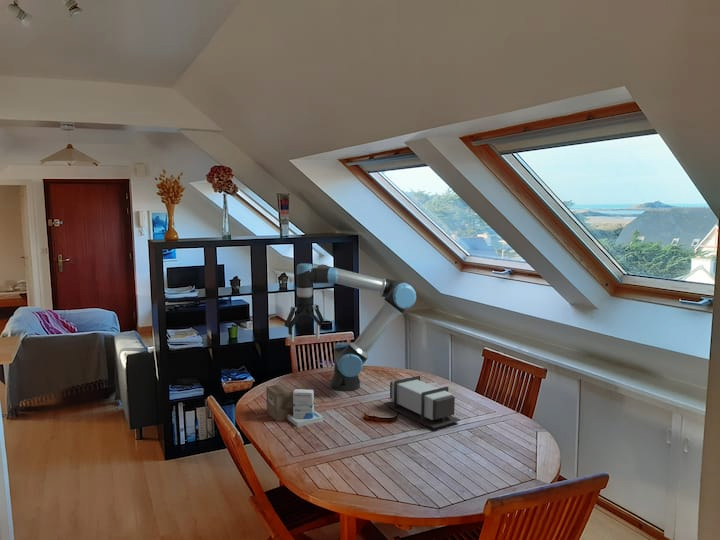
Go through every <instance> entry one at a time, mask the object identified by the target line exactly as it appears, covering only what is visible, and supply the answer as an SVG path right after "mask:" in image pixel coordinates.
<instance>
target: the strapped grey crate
mask: <svg viewBox="0 0 720 540" xmlns="http://www.w3.org/2000/svg"><path fill="white" fill-rule="evenodd" d="M389 399H390V400H391V401H388V402H384V403H383V404H384V405H385V406H387V407H388V408H389V409H391V410H393V411H395V412H398V413H400V414H401V415H403V416H406V417H408V418H410V419H411V420H413V421H416V422H418V423H420V424H422V425H424V426H425V427H428V428H430V429H432V430H438V429H440V428H444V427H445V428H446V427H448V426H451V425H455V424H456V423H458V422H460V421H461V419H459V418H458V417H455V416H454V415H455V403H456V402H455V401H456V400H455V399H456V397H455V396H454V395H453V393H452V392H450V391H449V386H444V387H436V386H434V385H432V384H429V383H427V382H424V381H421V375H417V376H412V377H411V376H410V377H407V378H403V379H397V380H393V381H390V382H389Z"/></svg>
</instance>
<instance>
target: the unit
mask: <svg viewBox="0 0 720 540" xmlns="http://www.w3.org/2000/svg"><path fill="white" fill-rule="evenodd" d="M265 392H266V394H265V395H266V413H267V415H269V416H270V417H272V418H273V419H274V420H275V421H276V422H280V421H285V420H288V419H287V415H288V414H290V415H291V416H292V415H293V392H294V390H293V389H292V388H290V387H288V386H287V385H285V384H284V383H281V384H280V383H279V384H275V385H269V386H266V391H265Z"/></svg>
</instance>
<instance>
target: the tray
mask: <svg viewBox="0 0 720 540" xmlns="http://www.w3.org/2000/svg"><path fill="white" fill-rule="evenodd" d="M286 420H288V421H290V423H292V424H293V425H294V426H295V427H297V428H300V427H303V426H309V425H313V424H317V423H322V422H324V416H323V415H322V414H320V413H319V412H317V411H316V410H314V416H313V418H311V419H304V418H294V417H293V415H292V416H291V415H290V414H288V415H287V419H286Z"/></svg>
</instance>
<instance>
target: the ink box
mask: <svg viewBox="0 0 720 540" xmlns="http://www.w3.org/2000/svg"><path fill="white" fill-rule="evenodd" d="M293 391H294V392H293V417H294V418H304V419H311V418H313V416H314V411H315V398H314V397H315V396H314V394H315V393H314V391H315V390H314V389H304V388H303V389H302V388H301V389H300V388H299V389H298V388H297V389H296V388H295V389H294V390H293Z"/></svg>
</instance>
